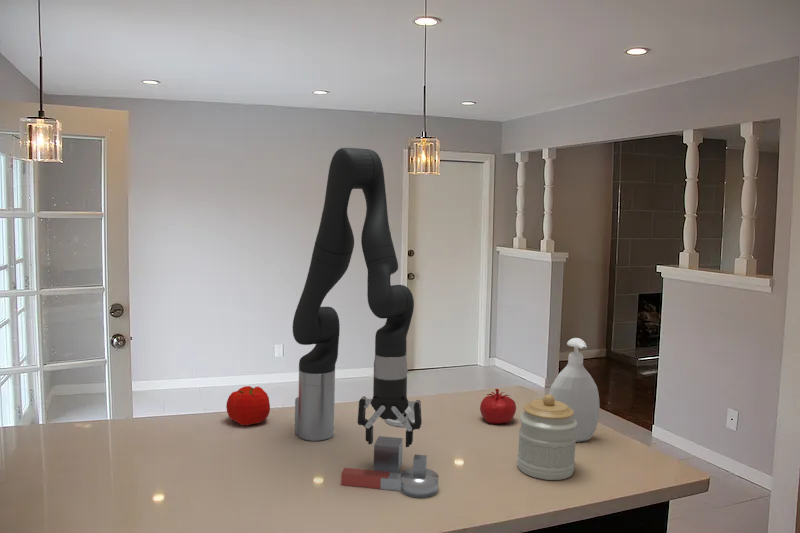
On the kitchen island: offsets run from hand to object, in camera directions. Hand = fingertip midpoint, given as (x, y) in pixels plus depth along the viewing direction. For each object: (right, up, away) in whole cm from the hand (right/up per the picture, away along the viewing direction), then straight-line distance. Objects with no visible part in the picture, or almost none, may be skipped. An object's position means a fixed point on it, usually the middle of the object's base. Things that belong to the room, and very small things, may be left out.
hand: (389, 444), depth 142 cm
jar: (+36, -7, +3) cm, 37 cm away
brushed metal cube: (0, -6, +1) cm, 6 cm away
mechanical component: (+3, -3, +33) cm, 33 cm away
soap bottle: (+47, -5, +22) cm, 52 cm away
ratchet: (0, -6, -9) cm, 11 cm away
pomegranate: (+30, -4, +36) cm, 47 cm away
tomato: (-39, -2, +29) cm, 48 cm away
